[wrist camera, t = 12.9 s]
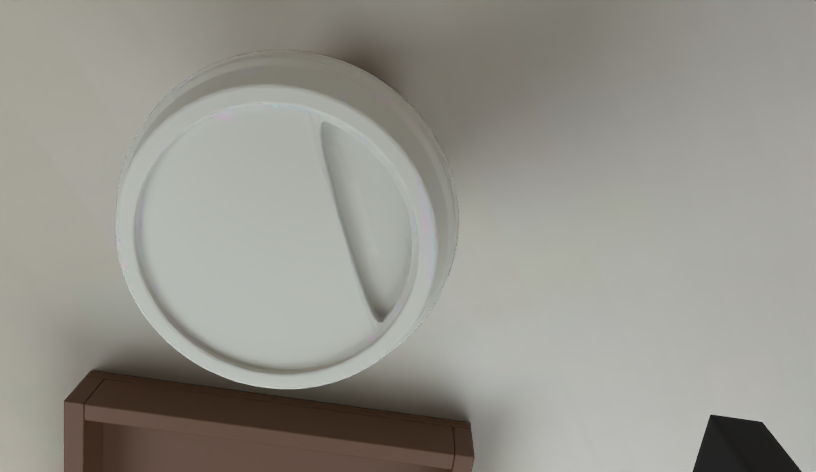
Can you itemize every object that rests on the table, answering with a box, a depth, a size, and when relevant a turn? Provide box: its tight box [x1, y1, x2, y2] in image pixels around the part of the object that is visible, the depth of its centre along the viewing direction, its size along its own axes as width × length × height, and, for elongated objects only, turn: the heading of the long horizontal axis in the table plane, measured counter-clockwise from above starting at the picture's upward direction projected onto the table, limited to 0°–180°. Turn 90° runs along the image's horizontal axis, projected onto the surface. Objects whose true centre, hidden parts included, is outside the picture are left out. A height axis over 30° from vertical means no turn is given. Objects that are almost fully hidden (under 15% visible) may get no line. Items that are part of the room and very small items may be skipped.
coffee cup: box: [116, 50, 459, 389], centre depth 22 cm, size 8×8×12 cm
